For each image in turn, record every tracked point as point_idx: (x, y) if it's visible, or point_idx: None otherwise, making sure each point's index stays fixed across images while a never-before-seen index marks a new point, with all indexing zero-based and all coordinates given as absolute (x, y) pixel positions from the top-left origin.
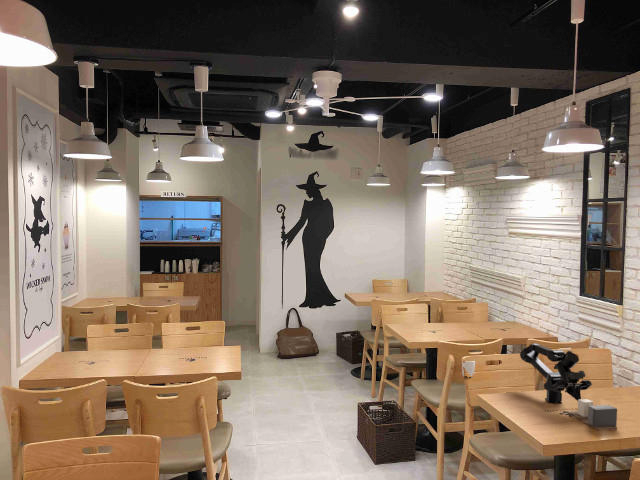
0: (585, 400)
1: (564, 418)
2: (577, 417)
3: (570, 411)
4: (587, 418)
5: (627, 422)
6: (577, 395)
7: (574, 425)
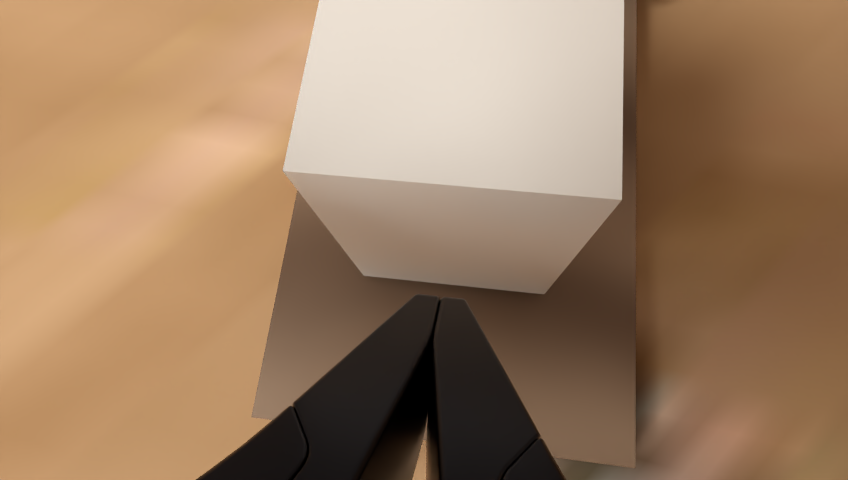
0: (457, 78)
1: (815, 298)
2: (632, 205)
3: (572, 447)
4: None
5: (46, 4)
6: (477, 392)
7: (829, 55)
